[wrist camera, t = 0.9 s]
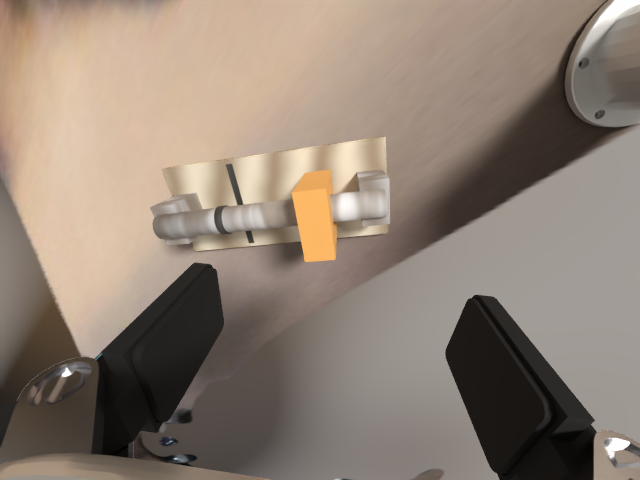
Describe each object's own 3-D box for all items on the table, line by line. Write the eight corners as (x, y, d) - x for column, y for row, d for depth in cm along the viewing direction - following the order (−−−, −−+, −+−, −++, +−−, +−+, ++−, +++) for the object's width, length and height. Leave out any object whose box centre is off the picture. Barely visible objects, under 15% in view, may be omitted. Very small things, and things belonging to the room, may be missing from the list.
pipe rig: (384, 136, 29) (397, 142, 22) (386, 230, 34) (398, 258, 27) (166, 167, 33) (120, 181, 26) (198, 248, 38) (166, 276, 31)
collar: (330, 169, 29) (326, 188, 21) (337, 225, 32) (335, 259, 24) (305, 172, 29) (291, 192, 21) (314, 227, 32) (305, 261, 24)
